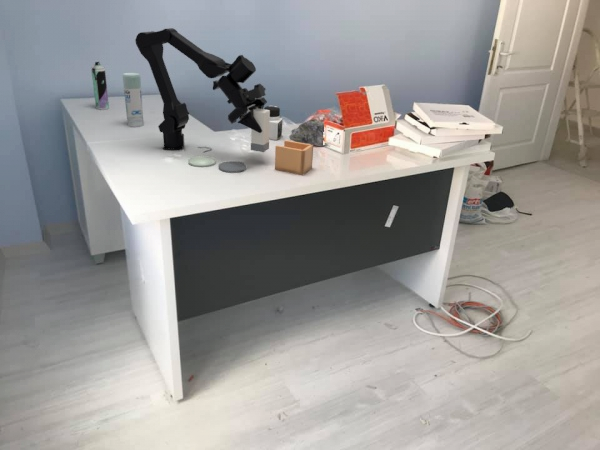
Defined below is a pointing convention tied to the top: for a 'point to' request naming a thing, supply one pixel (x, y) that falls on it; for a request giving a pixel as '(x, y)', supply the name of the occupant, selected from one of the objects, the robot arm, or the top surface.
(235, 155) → the top surface
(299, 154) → the chute
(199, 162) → the pad pale
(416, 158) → the top surface
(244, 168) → the pad dark
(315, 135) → the mineral rock
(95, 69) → the spray can
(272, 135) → the medicine bottle
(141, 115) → the spray paint can
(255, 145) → the tall white pillar block
